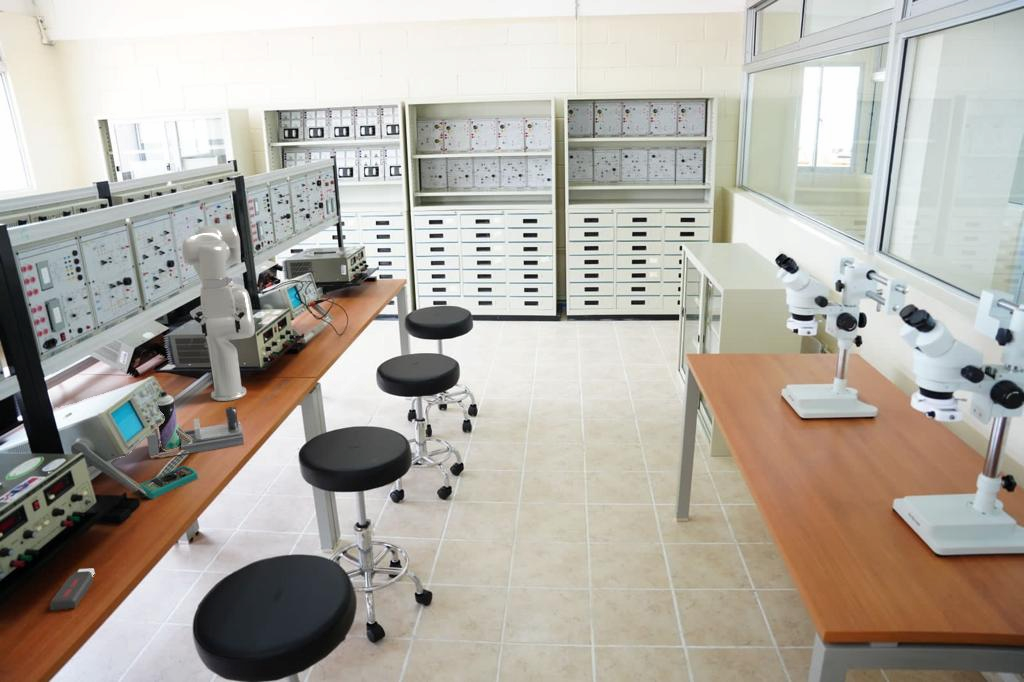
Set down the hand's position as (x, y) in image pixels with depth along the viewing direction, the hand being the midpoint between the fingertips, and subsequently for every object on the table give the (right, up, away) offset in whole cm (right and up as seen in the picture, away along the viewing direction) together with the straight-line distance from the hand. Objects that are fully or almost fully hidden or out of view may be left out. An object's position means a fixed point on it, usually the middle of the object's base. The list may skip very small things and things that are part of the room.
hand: (221, 333), depth 226 cm
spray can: (-14, -37, -5) cm, 40 cm away
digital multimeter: (-4, -45, -26) cm, 52 cm away
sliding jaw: (-1, -34, 0) cm, 34 cm away
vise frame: (-7, -36, -2) cm, 37 cm away
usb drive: (-4, -61, -69) cm, 92 cm away
